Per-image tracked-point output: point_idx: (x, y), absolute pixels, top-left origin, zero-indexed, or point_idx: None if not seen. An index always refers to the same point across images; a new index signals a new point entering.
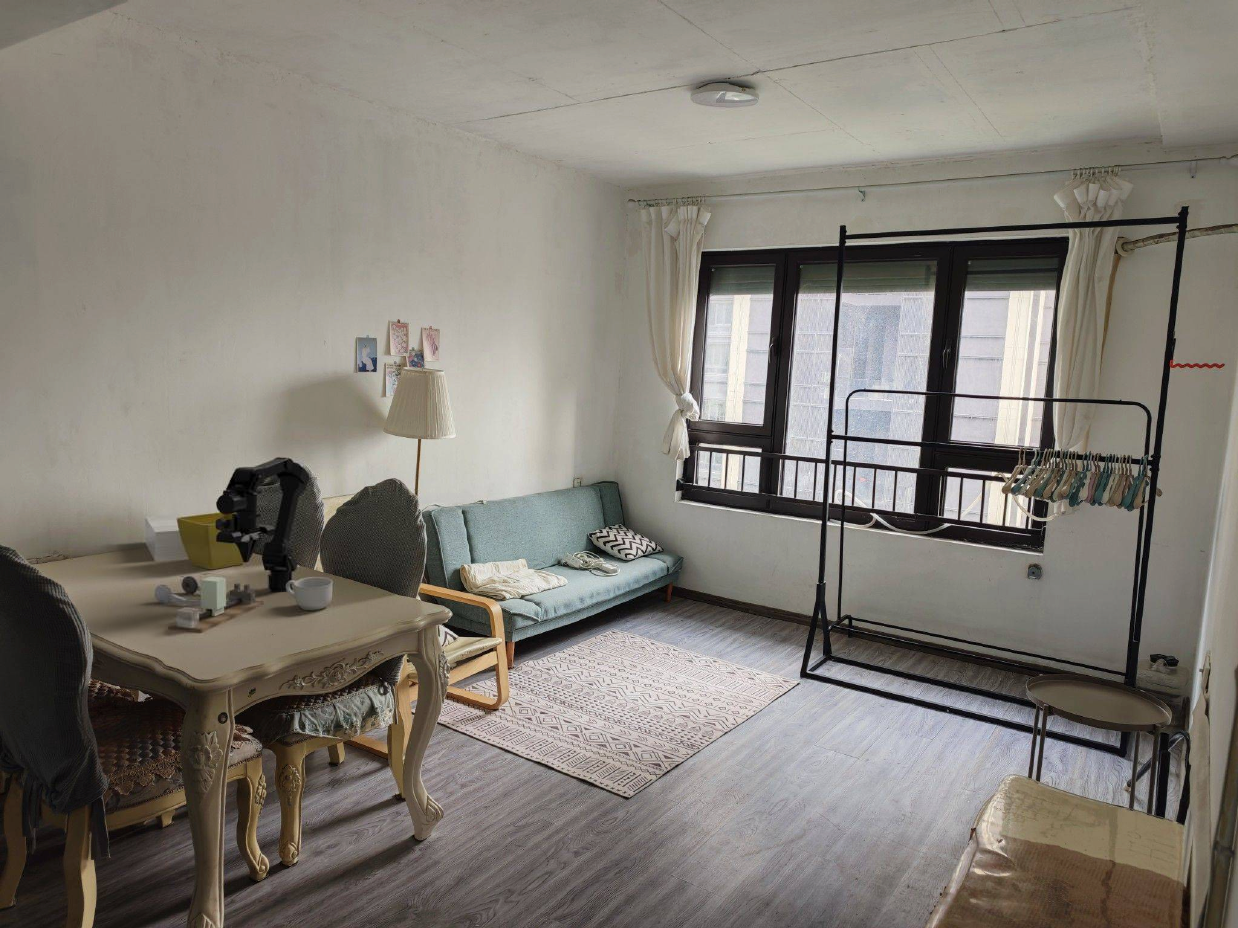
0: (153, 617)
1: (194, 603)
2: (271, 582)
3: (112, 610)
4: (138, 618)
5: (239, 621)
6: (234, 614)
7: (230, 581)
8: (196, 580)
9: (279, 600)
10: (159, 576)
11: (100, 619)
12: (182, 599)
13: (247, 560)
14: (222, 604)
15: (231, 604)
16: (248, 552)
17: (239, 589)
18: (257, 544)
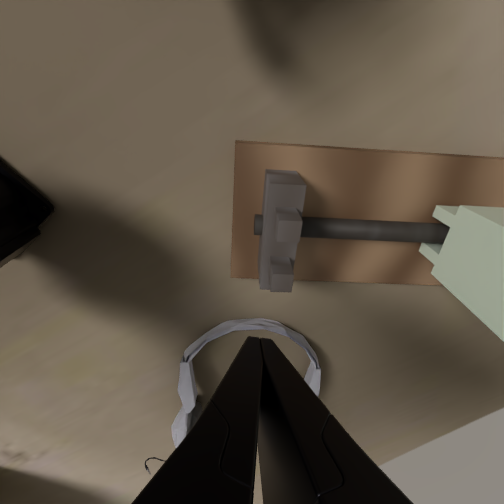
0: (427, 364)
1: (308, 345)
2: (15, 235)
3: (371, 444)
4: (435, 384)
5: (497, 101)
6: (448, 156)
7: (32, 386)
8: (185, 431)
9: (146, 103)
10: (99, 498)
11: (440, 430)
12: (319, 379)
13: (269, 346)
14: (494, 210)
15: (366, 220)
16: (318, 412)
17: (276, 258)
18: (155, 501)
